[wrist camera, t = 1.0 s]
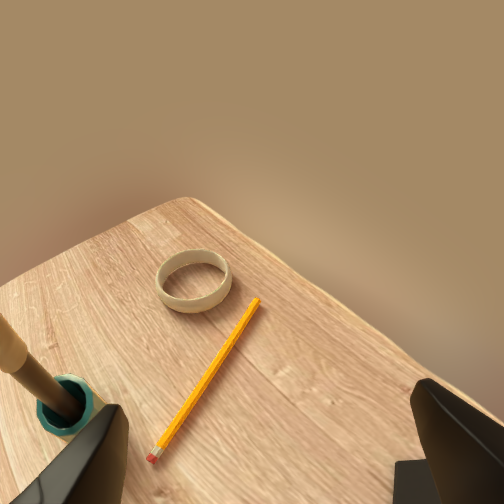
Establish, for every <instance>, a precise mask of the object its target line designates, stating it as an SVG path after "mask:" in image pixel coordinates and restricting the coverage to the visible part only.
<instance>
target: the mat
mask: <svg viewBox="0 0 504 504" xmlns="http://www.w3.org/2000/svg"><path fill="white" fill-rule="evenodd" d="M393 504H442V503H441V500H440V497H439V494H438V491H437V488H436V485H435V482H434V479H433V476H432V473H431V470H430V467H429V464H428V462H427V459H422V460H409V461H397V462H396V463H395V479H394V494H393Z"/></svg>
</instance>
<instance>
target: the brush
mask: <svg viewBox="0 0 504 504" xmlns="http://www.w3.org/2000/svg"><path fill="white" fill-rule="evenodd" d="M0 369H1V370H2V371H3V372H5V373H9V374H10V375H11V376H12V377H14V378H15V379H16V380H17V381H18V382H19V383H20V384H21V385H22V386H23V387H25V388H26V389H27V390H28V391H29V392H30V393H32V394H33V395H34V396H35V397H36V398H37V399H39V400H40V401H41V402H42V403H44V404H45V405H46V406H47V407H49V408H50V409H51V410H52V411H54V412H55V413H56V414H57V415H59V416H60V417H61V418H63V419H64V420H65V421H67V422H68V423H70V424H71V425H72V426H74V425H75V424H76V423H77V422H79V421H80V420H81V419H82V417H83V414H84V412H85V410H86V408H85V407H84V406H83V405H82V404H81V403H80V402H79V401H77V400H76V399H75V398H74V397H73V396H72V395H71V394H70V393H69V392H68V391H67V390H66V389H64V388H63V387H62V386H61V385H60V384H59V383H58V382H57V381H56V380H55V379H54V378H53V377H52V376H51V375H50V374H49V373H48V372H47V371H46V370H45V369H44V368H43V367H42V366H41V365H40V364H39V362H38V361H37V360H36V359H35V358H34V357H33V356H32V355H31V354H30V353H29V352H28V350H27V346H26V344H25V343H24V341H23V340H22V339H21V338H20V337H19V336H18V334H17V333H16V332H15V331H14V329H13V328H12V327H11V326H10V325H9V323H8V322H7V321H6V319H5V318H4V317H3V316H2V314H1V313H0Z"/></svg>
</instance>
